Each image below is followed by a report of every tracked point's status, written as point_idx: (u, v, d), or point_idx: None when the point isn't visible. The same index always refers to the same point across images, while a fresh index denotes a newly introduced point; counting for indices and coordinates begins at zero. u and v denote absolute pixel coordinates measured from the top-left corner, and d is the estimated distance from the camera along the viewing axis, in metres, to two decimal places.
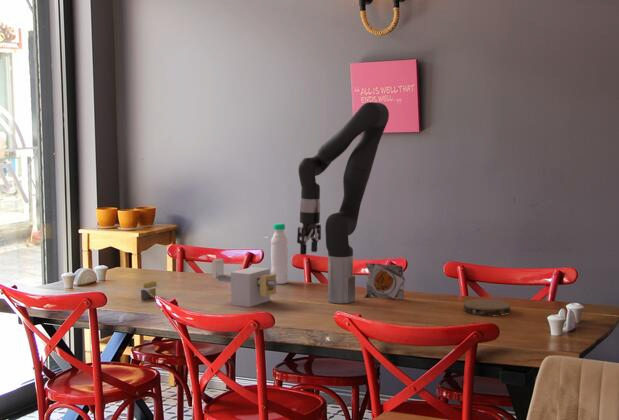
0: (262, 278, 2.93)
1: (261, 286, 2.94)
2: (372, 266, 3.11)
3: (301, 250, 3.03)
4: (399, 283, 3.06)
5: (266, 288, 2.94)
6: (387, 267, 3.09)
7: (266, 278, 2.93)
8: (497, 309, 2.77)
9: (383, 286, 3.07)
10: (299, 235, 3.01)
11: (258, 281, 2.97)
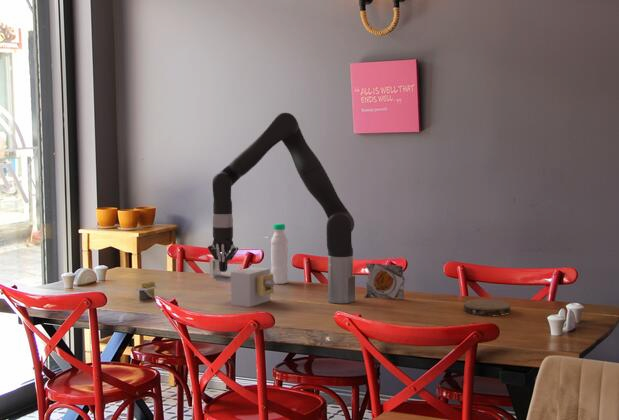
0: (259, 278, 2.94)
1: (259, 285, 2.94)
2: (372, 266, 3.11)
3: (225, 267, 3.05)
4: (399, 283, 3.06)
5: (263, 288, 2.94)
6: (387, 267, 3.09)
7: (263, 278, 2.94)
8: (497, 309, 2.77)
9: (383, 286, 3.07)
10: (232, 255, 3.03)
11: None
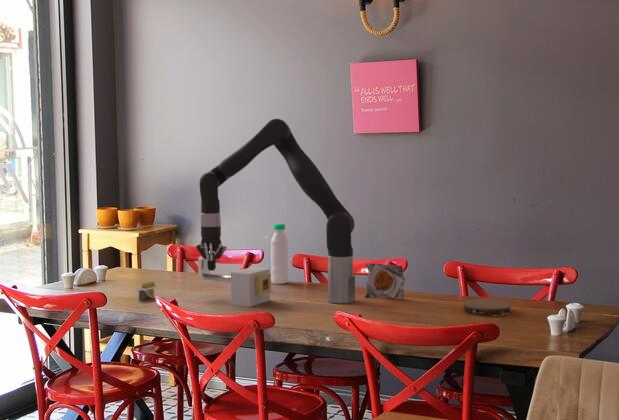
0: (257, 278, 2.95)
1: (256, 285, 2.95)
2: (372, 266, 3.11)
3: (214, 266, 3.08)
4: (399, 283, 3.06)
5: (261, 288, 2.95)
6: (387, 267, 3.09)
7: (261, 278, 2.94)
8: (497, 309, 2.77)
9: (383, 286, 3.07)
10: (220, 254, 3.05)
11: None
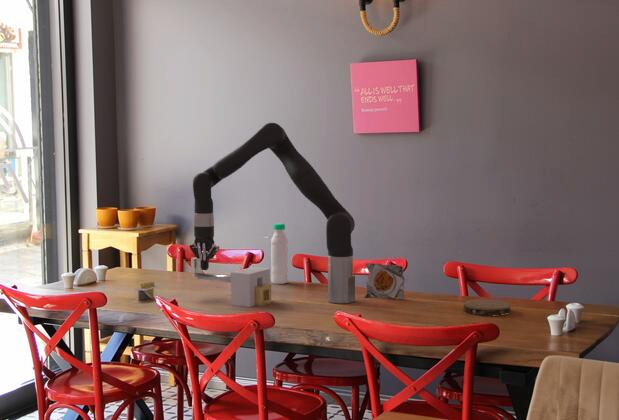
0: (257, 288, 2.95)
1: (257, 296, 2.95)
2: (372, 266, 3.11)
3: (207, 266, 3.09)
4: (399, 283, 3.06)
5: (261, 298, 2.95)
6: (387, 267, 3.09)
7: (261, 288, 2.95)
8: (497, 309, 2.77)
9: (383, 286, 3.07)
10: (213, 253, 3.07)
11: None
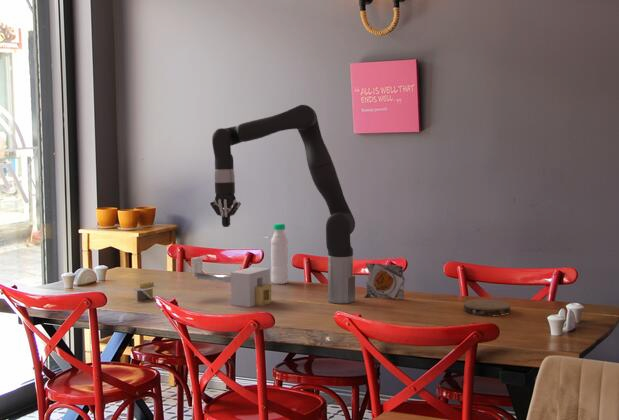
0: (257, 288, 2.95)
1: (257, 296, 2.95)
2: (372, 266, 3.11)
3: (228, 222, 3.08)
4: (399, 283, 3.06)
5: (261, 298, 2.95)
6: (387, 267, 3.09)
7: (261, 288, 2.95)
8: (497, 309, 2.77)
9: (383, 286, 3.07)
10: (235, 209, 3.06)
11: None
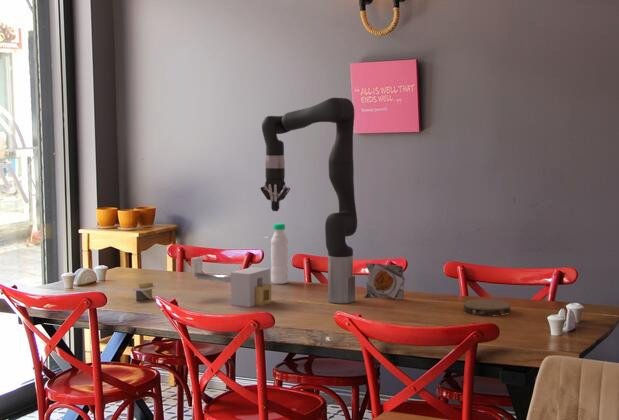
0: (257, 288, 2.95)
1: (257, 296, 2.95)
2: (372, 266, 3.11)
3: (277, 207, 3.20)
4: (399, 283, 3.06)
5: (261, 298, 2.95)
6: (387, 267, 3.09)
7: (261, 288, 2.95)
8: (497, 309, 2.77)
9: (383, 286, 3.07)
10: (284, 194, 3.18)
11: None
